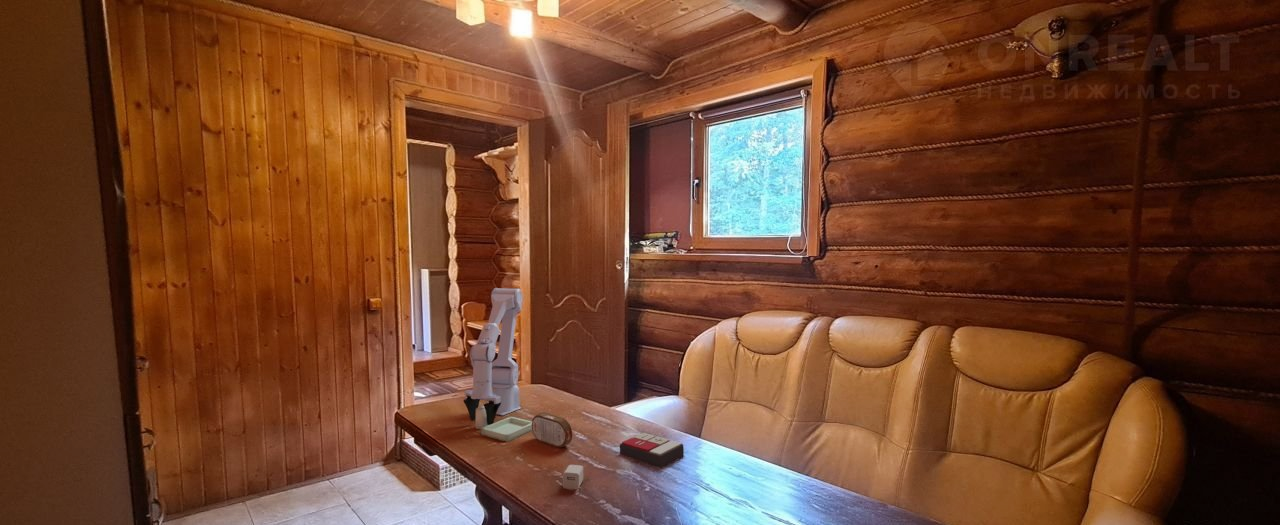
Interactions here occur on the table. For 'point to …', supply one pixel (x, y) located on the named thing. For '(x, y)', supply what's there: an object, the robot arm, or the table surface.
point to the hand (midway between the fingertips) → (482, 421)
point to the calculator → (652, 449)
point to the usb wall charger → (573, 477)
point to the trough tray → (507, 429)
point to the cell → (481, 417)
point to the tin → (552, 429)
